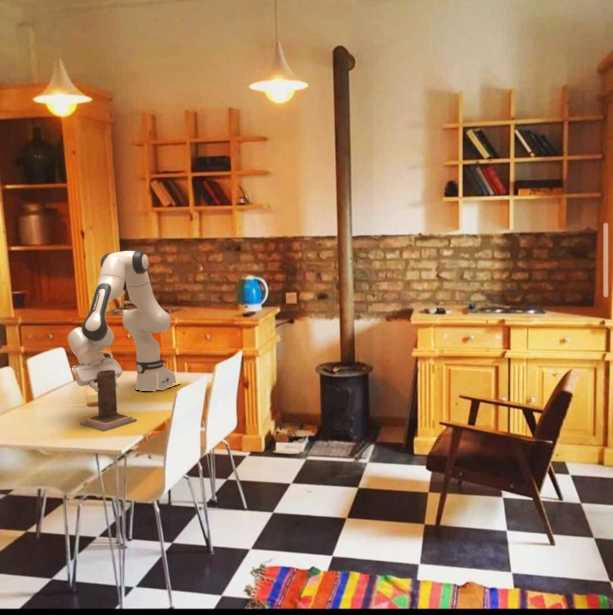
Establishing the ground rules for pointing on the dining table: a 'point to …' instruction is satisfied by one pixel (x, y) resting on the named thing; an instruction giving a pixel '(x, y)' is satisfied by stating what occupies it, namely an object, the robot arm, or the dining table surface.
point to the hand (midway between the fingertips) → (107, 388)
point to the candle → (107, 394)
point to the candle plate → (108, 421)
